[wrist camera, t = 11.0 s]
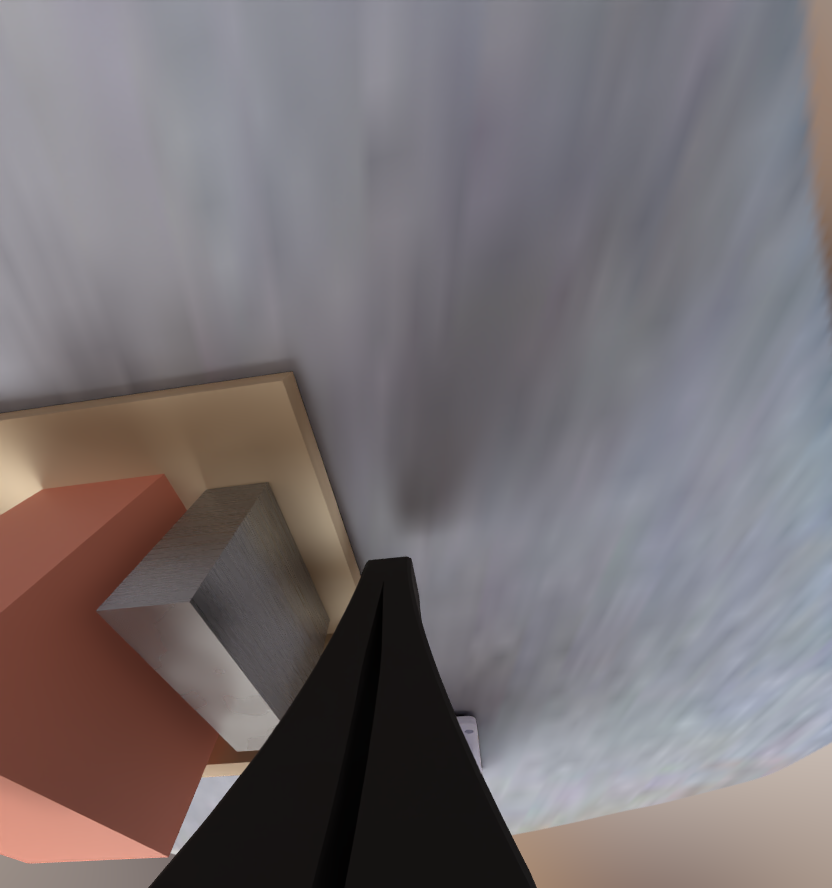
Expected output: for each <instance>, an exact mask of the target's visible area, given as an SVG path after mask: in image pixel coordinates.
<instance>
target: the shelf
mask: <svg viewBox="0 0 832 888" xmlns="http://www.w3.org/2000/svg"><path fill="white" fill-rule="evenodd" d="M158 474H165V476H166V478H167V479H168V481H169V482H170V484H171V486H172V487H173V489H174V490H175V492H176V493H177V495H178V497H179V498H180V500H181V501H182V503H183V505H184V506H185V508H186V509H187V510H188V509H189V508H190V507H191V506H192V505H193V503H194V502H195V501H196V500H197V499H198V498H199V497H200V496H201V495H202V494H203V492H204V491H205V490H207V489H215V488H224V487H232V486H240V485H248V484H257V483H265V482H269V485H270V487H271V489H272V491H273V493H274V496H275V498H276V500H277V502H278V505H279V507H280V509H281V511H282V514H283V516H284V518H285V520H286V523H287V525H288V527H289V529H290V532H291V534H292V536H293V538H294V541H295V543H296V545H297V547H298V550H299V552H300V554H301V556H302V558H303V561H304V563H305V565H306V567H307V570H308V572H309V574H310V576H311V579H312V581H313V583H314V585H315V588H316V590H317V592H318V594H319V597H320V599H321V601H322V603H323V606H324V608H325V610H326V612H327V614H328V617H329V619H330V622H329V627H328V631H327V635H326V639H325V644H324V648H323V651H324V650H325V648H326V646H327V644H328V642H329V641H330V639H331V637H332V635H333V633H334V632H335V630H336V628H337V626H338V624H339V622H340V620H341V618H342V616H343V614H344V612H345V610H346V608H347V606H348V604H349V602H350V600H351V598H352V595H353V593H354V591H355V589H356V587H357V584H358V582H359V580H360V577H361V575H360V572H359V569H358V566H357V563H356V560H355V557H354V554H353V551H352V548H351V545H350V542H349V539H348V536H347V533H346V530H345V527H344V524H343V521H342V518H341V515H340V512H339V509H338V506H337V503H336V500H335V497H334V494H333V491H332V488H331V485H330V482H329V479H328V476H327V473H326V470H325V467H324V464H323V461H322V458H321V455H320V452H319V449H318V446H317V443H316V440H315V437H314V434H313V431H312V428H311V425H310V422H309V419H308V416H307V413H306V410H305V407H304V404H303V401H302V398H301V395H300V392H299V389H298V386H297V383H296V380H295V377H294V374H293V371H292V372H285V373H278V374H271V375H264V376H257V377H250V378H243V379H236V380H229V381H222V382H215V383H208V384H201V385H194V386H187V387H180V388H173V389H167V390H160V391H153V392H146V393H139V394H132V395H125V396H118V397H111V398H104V399H97V400H90V401H83V402H76V403H69V404H62V405H55V406H48V407H41V408H34V409H27V410H20V411H13V412H6V413H0V515H1V514H3V513H5V512H6V511H8V510H10V509H11V508H13V507H14V506H16V505H18V504H19V503H21V502H23V501H24V500H26V499H27V498H29V497H31V496H32V495H34V494H36V493H37V492H39V491H40V490H42V489H48V488H56V487H64V486H72V485H80V484H87V483H95V482H103V481H111V480H119V479H127V478H135V477H142V476H150V475H158ZM322 653H323V652H322ZM258 751H259V750H254V751H239V752H237V751H236V750H235V749H234V748H233V747H232V746H231V745H230V744H229V743H228V742H227V741H226V740H225V739H224V738H223V737H222V736H221V735H220V734H219V736H218V738H217V741H216V743H215V746H214V748H213V751H212V753H211V755H210V758H209V760H208V763H207V765H206V768H205V770H204V772H203V775H202V777H216V776H233V775H241V774H242V772H243V771H244V770H245V769H246V767H247V766H248V765H249V763H250V762H251V761H252V759H253V758H254V757H255V755H256V754H257V753H258Z"/></svg>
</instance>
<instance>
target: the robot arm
mask: <svg viewBox="0 0 832 888" xmlns="http://www.w3.org/2000/svg"><path fill="white" fill-rule="evenodd" d="M149 888H537V887H536V885H535V882H534V880H533V878H532V876H531V873H530V871H529V869H528V867H527V865H526V863H525V861H524V859H523V857H522V855H521V853H520V851H519V849H518V847H517V845H516V843H515V841H514V839H513V838H512V835H511V833H510V831H509V829H508V827H507V825H506V823H505V821H504V819H503V817H502V815H501V813H500V811H499V809H498V807H497V805H496V803H495V801H494V799H493V797H492V795H491V792H490V790H489V788H488V786H487V784H486V782H485V780H484V778H483V776H482V767H481V758H480V749H479V740H478V731H477V723H476V719H475V718H474V717H472V716H458V717H456V715H455V713H454V710H453V708H452V705H451V703H450V700H449V698H448V696H447V693H446V690H445V688H444V685H443V683H442V680H441V678H440V675H439V672H438V670H437V667H436V664H435V661H434V658H433V656H432V653H431V650H430V647H429V644H428V641H427V638H426V634H425V631H424V628H423V624H422V620H421V612H420V601H419V593H418V588H417V583H416V579H415V574H414V569H413V564H412V559H411V558H409V557H397V558H387V559H378V560H369V561H368V562H367V563H366V565H365V568H364V570H363V573H362V575H361V577H360V580H359V582H358V584H357V587H356V589H355V591H354V593H353V595H352V598H351V600H350V602H349V604H348V606H347V608H346V610H345V612H344V614H343V616H342V618H341V620H340V622H339V624H338V626H337V628H336V630H335V632H334V633H333V635H332V637H331V639H330V641H329V642H328V644H327V646H326V648H325V650H324V651H323V653H322V655H321V657H320V658H319V660H318V662H317V664H316V665H315V667H314V669H313V670H312V672H311V674H310V675H309V677H308V679H307V680H306V682H305V684H304V685H303V687H302V688H301V690H300V691H299V693H298V695H297V696H296V698H295V699H294V701H293V702H292V704H291V705H290V707H289V708H288V710H287V711H286V713H285V714H284V716H283V717H282V719H281V720H280V721H279V723H278V724H277V726H276V727H275V729H274V730H273V732H272V733H271V734H270V736H269V737H268V739H267V740H266V742H265V743H264V744H263V746H262V747H261V748H260V750H259V751H258V753H257V754H256V755H255V757H254V758H253V759H252V761H251V762H250V763H249V765H248V766H247V767H246V769H245V770H244V771H243V772H242V774H241V775H240V776H239V778H238V779H237V780H236V781H235V783H234V784H233V785H232V787H231V788H230V789H229V791H228V792H227V793H226V794H225V796H224V797H223V798H222V800H221V801H220V802H219V803H218V805H217V806H216V807H215V809H214V810H213V811H212V812H211V814H210V815H209V816H208V817H207V819H206V820H205V821H204V822H203V823H202V825H201V826H200V827H199V828H198V830H197V831H196V832H195V833H194V834H193V835H192V837H191V838H190V839H189V840H188V841H187V843H186V844H185V845H184V846H183V847H182V848H181V850H180V851H179V852H178V853H177V854H176V856H175V857H174V858H173V859H172V860H171V862H170V863H169V864H168V865H167V866H166V867H165V869H164V870H163V871H162V872H161V873H160V875H159V876H158V877H157V878H156V879H155V881H154V882H153V883H152V884H151V885H150V886H149Z"/></svg>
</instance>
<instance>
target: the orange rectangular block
mask: <svg viewBox="0 0 832 888" xmlns="http://www.w3.org/2000/svg"><path fill="white" fill-rule="evenodd" d="M186 511H187V509H186V508H185V506H184V505H183V503H182V501H181V500H180V498H179V497H178V495H177V493H176V492H175V490H174V489H173V487H172V486H171V484H170V482H169V481H168V479H167V478H166V476H165V474H158V475H150V476H142V477H135V478H127V479H119V480H111V481H103V482H95V483H87V484H80V485H72V486H64V487H56V488H48V489H42V490H40V491H39V492H37V493H36V494H34V495H32V496H31V497H29V498H27V499H26V500H24V501H23V502H21V503H19V504H18V505H16V506H14V507H13V508H11V509H10V510H8V511H6V512H5V513H3V514H1V515H0V854H1V855H4V856H8V857H10V858H13V859H17V860H19V861H22V862H25V863H46V862H47V863H48V862H71V861H93V860H113V859H114V860H115V859H136V858H159V857H169V855H170V852H171V850H172V848H173V845H174V843H175V840H176V838H177V835H178V833H179V831H180V828H181V826H182V823H183V821H184V818H185V816H186V814H187V811H188V809H189V806H190V804H191V801H192V799H193V797H194V794H195V792H196V789H197V787H198V784H199V782H200V780H201V777H202V775H203V772H204V770H205V768H206V765H207V763H208V760H209V758H210V755H211V753H212V751H213V748H214V746H215V743H216V741H217V738H218V736H219V733H218V732H217V731H216V730H215V729H214V728H213V727H212V726H211V725H210V724H209V723H208V722H207V721H206V720H205V719H204V718H203V717H202V716H201V715H200V714H199V713H198V712H197V711H196V710H195V709H194V708H193V707H191V706H190V705H189V704H188V703H187V702H186V701H185V700H184V699H183V698H182V697H181V696H180V695H179V694H178V693H177V692H176V691H175V690H174V689H173V688H172V687H171V686H170V685H169V684H168V683H167V682H166V681H165V680H164V679H163V678H162V677H161V676H160V675H159V674H158V673H157V672H156V671H155V670H154V669H153V668H152V667H151V666H150V665H149V664H148V663H147V662H146V661H145V660H144V659H143V658H142V657H141V656H140V655H139V654H138V653H137V652H136V651H135V650H134V649H133V648H132V647H131V646H130V645H129V644H128V643H127V642H126V641H125V640H124V639H123V638H122V637H121V636H120V635H119V634H118V633H117V632H116V631H115V630H114V629H113V628H112V627H111V626H110V625H109V624H108V623H107V622H106V621H105V620H104V619H103V618H102V617H101V616H100V615H99V614H98V613H97V612H96V610H97V609H98V608H99V607H100V606H101V605H102V603H103V602H104V601H105V600H106V599H107V598H108V597H109V596H110V595H111V594H112V592H113V591H114V590H115V589H116V588H117V587H118V586H119V585H120V584H121V583H122V581H123V580H124V579H125V578H126V577H127V576H128V575H129V574H130V573H131V572H132V571H133V569H134V568H135V567H136V566H137V565H138V564H139V563H140V562H141V561H142V560H143V558H144V557H145V556H146V555H147V554H148V553H149V552H150V551H151V550H152V549H153V547H154V546H155V545H156V544H157V543H158V542H159V541H160V540H161V539H162V538H163V536H164V535H165V534H166V533H167V532H168V531H169V530H170V529H171V528H172V527H173V525H174V524H175V523H176V522H177V521H178V520H179V519H180V518H181V517H182V516H183V514H184V513H185V512H186Z"/></svg>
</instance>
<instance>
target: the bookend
mask: <svg viewBox="0 0 832 888" xmlns="http://www.w3.org/2000/svg"><path fill="white" fill-rule="evenodd" d="M96 612H97V613H98V614H99V615H100V616H101V617H102V618H103V619H104V620H105V621H106V622H107V623H108V624H109V625H110V626H111V627H112V628H113V629H114V630H115V631H116V632H117V633H118V634H119V635H120V636H121V637H122V638H123V639H124V640H125V641H126V642H127V643H128V644H129V645H130V646H131V647H132V648H133V649H134V650H135V651H136V652H137V653H138V654H139V655H140V656H141V657H142V658H143V659H144V660H145V661H146V662H147V663H148V664H149V665H150V666H151V667H152V668H153V669H154V670H155V671H156V672H157V673H158V674H159V675H160V676H161V677H162V678H163V679H164V680H165V681H166V682H167V683H168V684H169V685H170V686H171V687H172V688H173V689H174V690H175V691H176V692H177V693H178V694H179V695H180V696H181V697H182V698H183V699H184V700H185V701H186V702H187V703H188V704H189V705H190V706H191V707H193V708H194V709H195V710H196V711H197V712H198V713H199V714H200V715H201V716H202V717H203V718H204V719H205V720H206V721H207V722H208V723H209V724H210V725H211V726H212V727H213V728H214V729H215V730H216V731H217V732H218V733H219V734H220V735H221V736H222V737H223V738H224V739H225V740H226V741H227V742H228V743H229V744H230V745H231V746H232V747H233V748H234V749H235V750H236V751H237V752H239V751H254V750H260V748H261V747H262V746H263V744H264V743H265V742H266V740H267V739H268V737H269V736H270V734H271V733H272V732H273V730H274V729H275V727H276V726H277V724H278V723H279V721H280V720H281V719H282V717H283V716H284V714H285V713H286V711H287V710H288V708H289V707H290V705H291V704H292V702H293V701H294V699H295V698H296V696H297V695H298V693H299V691H300V690H301V688H302V687H303V685H304V684H305V682H306V680H307V679H308V677H309V675H310V674H311V672H312V670H313V669H314V667H315V665H316V664H317V662H318V660H319V658H320V657H321V655H322V652H323V648H324V644H325V639H326V635H327V631H328V627H329V622H330V619H329V617H328V614H327V612H326V610H325V608H324V606H323V603H322V601H321V599H320V597H319V594H318V592H317V590H316V588H315V585H314V583H313V581H312V579H311V576H310V574H309V572H308V570H307V567H306V565H305V563H304V561H303V558H302V556H301V554H300V552H299V550H298V547H297V545H296V543H295V541H294V538H293V536H292V534H291V532H290V529H289V527H288V525H287V523H286V520H285V518H284V516H283V514H282V511H281V509H280V507H279V505H278V502H277V500H276V498H275V496H274V493H273V491H272V489H271V487H270V485H269V482H265V483H257V484H248V485H240V486H232V487H224V488H215V489H207V490H205V491H204V492H203V494H202V495H201V496H200V497H199V498H198V499H197V500H196V501H195V502H194V503H193V505H192V506H191V507H190V508H189V509H188V510H187V511H186V512H185V513H184V514H183V516H182V517H181V518H180V519H179V520H178V521H177V522H176V523H175V524H174V525H173V527H172V528H171V529H170V530H169V531H168V532H167V533H166V534H165V535H164V536H163V538H162V539H161V540H160V541H159V542H158V543H157V544H156V545H155V546H154V547H153V549H152V550H151V551H150V552H149V553H148V554H147V555H146V556H145V557H144V558H143V560H142V561H141V562H140V563H139V564H138V565H137V566H136V567H135V568H134V569H133V571H132V572H131V573H130V574H129V575H128V576H127V577H126V578H125V579H124V580H123V581H122V583H121V584H120V585H119V586H118V587H117V588H116V589H115V590H114V591H113V592H112V594H111V595H110V596H109V597H108V598H107V599H106V600H105V601H104V602H103V603H102V605H101V606H100V607H99V608H98V609H97V610H96Z"/></svg>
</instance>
